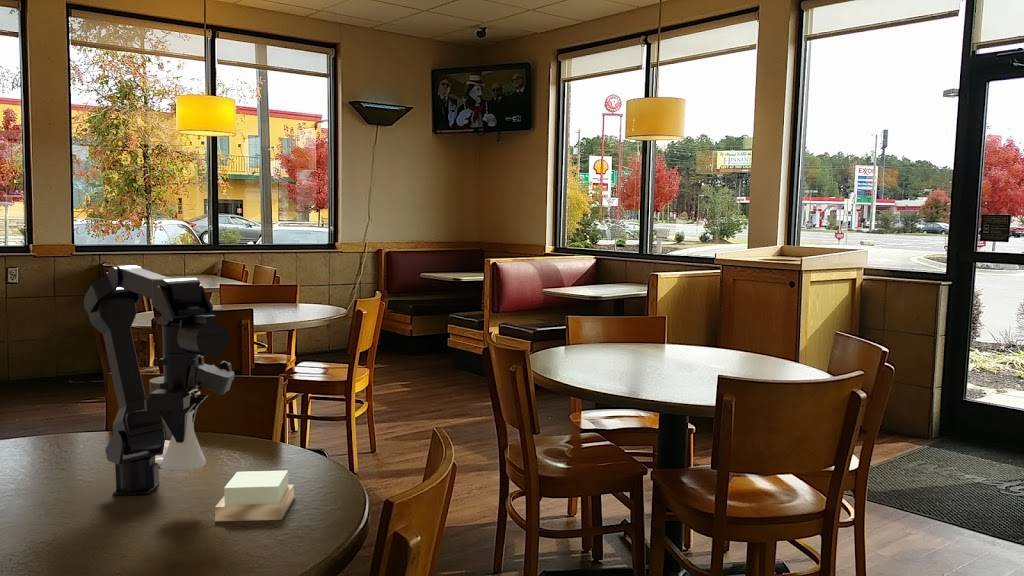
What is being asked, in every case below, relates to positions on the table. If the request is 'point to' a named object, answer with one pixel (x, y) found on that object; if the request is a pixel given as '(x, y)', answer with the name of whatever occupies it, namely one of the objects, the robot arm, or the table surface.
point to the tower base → (254, 509)
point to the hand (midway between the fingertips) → (183, 440)
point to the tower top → (256, 487)
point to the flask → (184, 451)
